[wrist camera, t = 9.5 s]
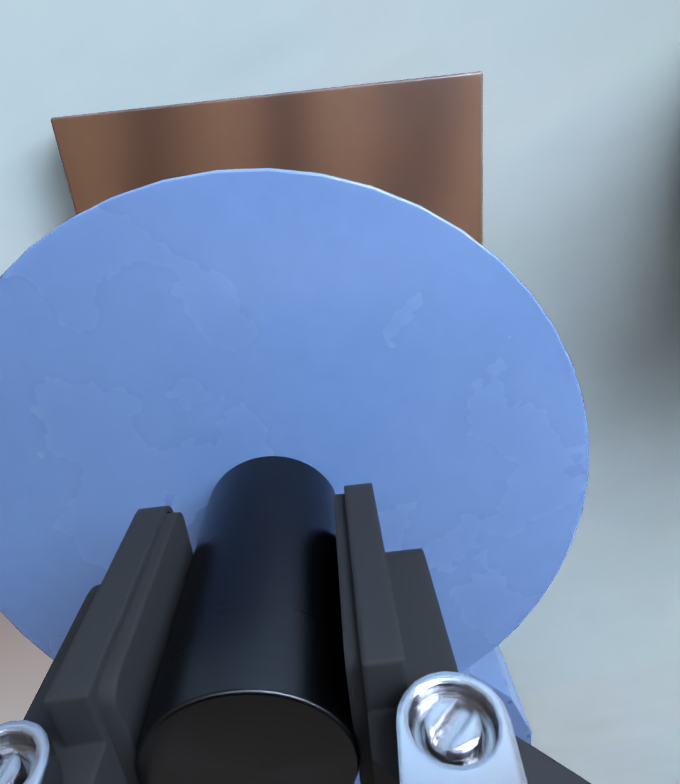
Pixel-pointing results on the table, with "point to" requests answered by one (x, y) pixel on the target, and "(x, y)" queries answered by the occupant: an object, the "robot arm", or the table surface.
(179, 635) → the lid
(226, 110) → the board
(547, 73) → the table surface
